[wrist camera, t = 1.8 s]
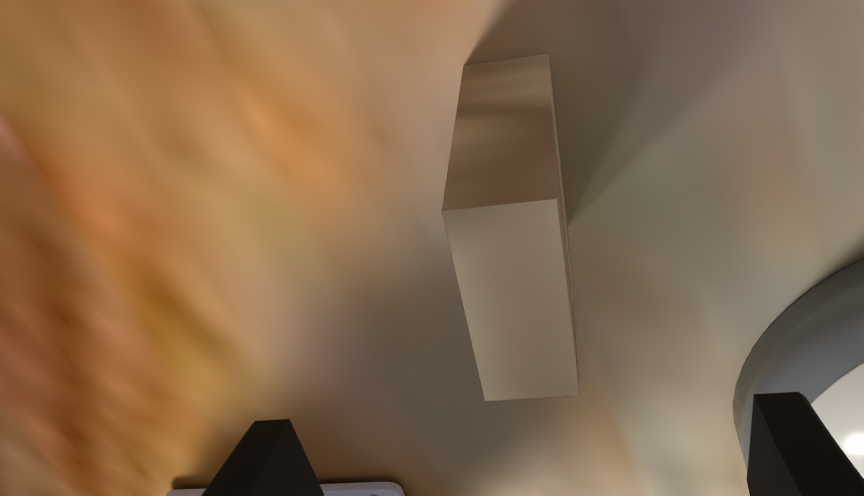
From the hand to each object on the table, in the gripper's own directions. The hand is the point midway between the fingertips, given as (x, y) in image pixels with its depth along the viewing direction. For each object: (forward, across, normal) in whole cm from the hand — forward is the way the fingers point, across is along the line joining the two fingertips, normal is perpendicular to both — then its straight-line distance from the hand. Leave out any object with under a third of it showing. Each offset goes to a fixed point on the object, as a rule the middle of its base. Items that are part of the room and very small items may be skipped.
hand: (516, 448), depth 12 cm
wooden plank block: (+9, 0, 0) cm, 9 cm away
